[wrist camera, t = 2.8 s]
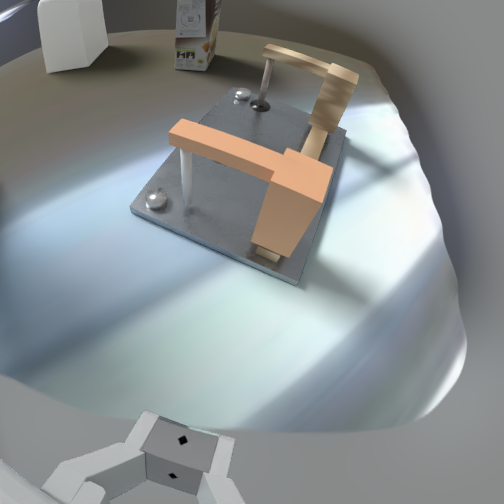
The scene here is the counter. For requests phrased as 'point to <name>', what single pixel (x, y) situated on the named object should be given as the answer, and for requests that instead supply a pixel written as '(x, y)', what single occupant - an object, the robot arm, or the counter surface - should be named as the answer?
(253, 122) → the hole plate
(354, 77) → the fixed leg
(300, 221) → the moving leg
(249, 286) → the counter surface
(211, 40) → the coffee box
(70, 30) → the milk
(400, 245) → the counter surface
